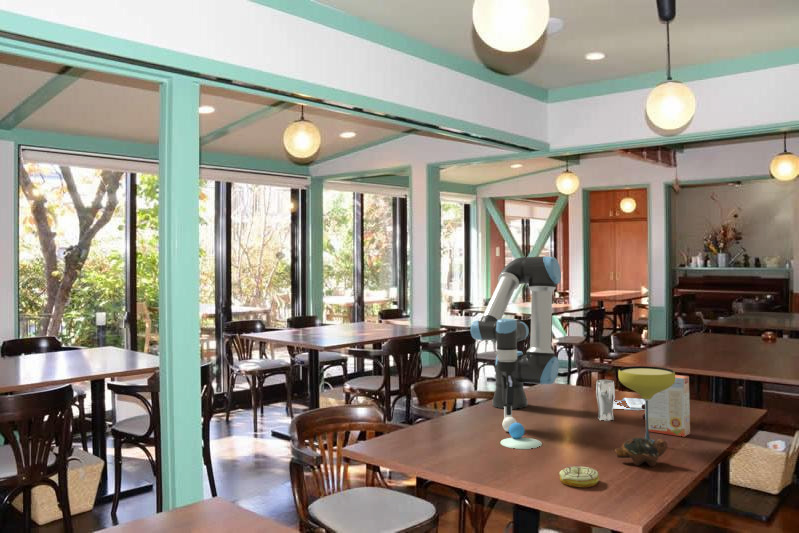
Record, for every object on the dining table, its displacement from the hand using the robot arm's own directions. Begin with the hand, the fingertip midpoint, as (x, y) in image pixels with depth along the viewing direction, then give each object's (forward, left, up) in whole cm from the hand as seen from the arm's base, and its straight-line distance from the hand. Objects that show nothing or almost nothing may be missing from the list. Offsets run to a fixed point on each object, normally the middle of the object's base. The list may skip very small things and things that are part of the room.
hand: (508, 422), depth 245 cm
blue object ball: (+13, -7, +1) cm, 15 cm away
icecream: (+26, +55, -2) cm, 61 cm away
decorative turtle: (+56, +4, -2) cm, 56 cm away
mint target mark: (+18, -10, -2) cm, 21 cm away
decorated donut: (+57, -24, -2) cm, 62 cm away
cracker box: (+39, +41, -2) cm, 57 cm away
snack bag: (+2, +66, -3) cm, 66 cm away
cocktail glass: (+44, +23, -2) cm, 50 cm away
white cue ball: (+5, -3, +1) cm, 6 cm away
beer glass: (+13, +39, -2) cm, 41 cm away
